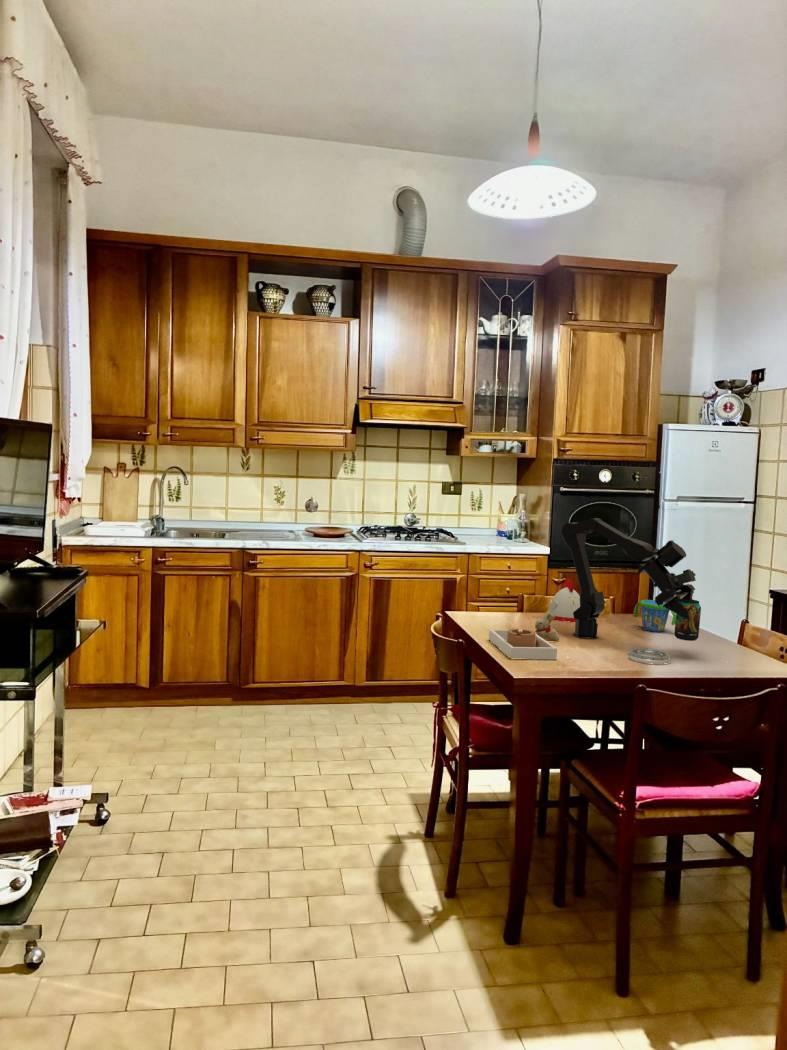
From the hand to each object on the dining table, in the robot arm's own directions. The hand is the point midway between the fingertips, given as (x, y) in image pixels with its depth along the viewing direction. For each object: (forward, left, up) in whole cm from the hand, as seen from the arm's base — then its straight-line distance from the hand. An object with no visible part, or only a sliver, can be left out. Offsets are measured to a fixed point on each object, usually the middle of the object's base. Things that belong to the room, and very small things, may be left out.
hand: (692, 616), depth 237 cm
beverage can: (-1, +1, -7) cm, 7 cm away
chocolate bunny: (-39, +20, -13) cm, 46 cm away
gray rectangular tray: (-52, +7, -13) cm, 54 cm away
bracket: (-52, +7, -13) cm, 54 cm away
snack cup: (+8, +39, -13) cm, 42 cm away
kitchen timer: (-18, +57, -13) cm, 62 cm away
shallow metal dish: (-15, -3, -13) cm, 20 cm away
